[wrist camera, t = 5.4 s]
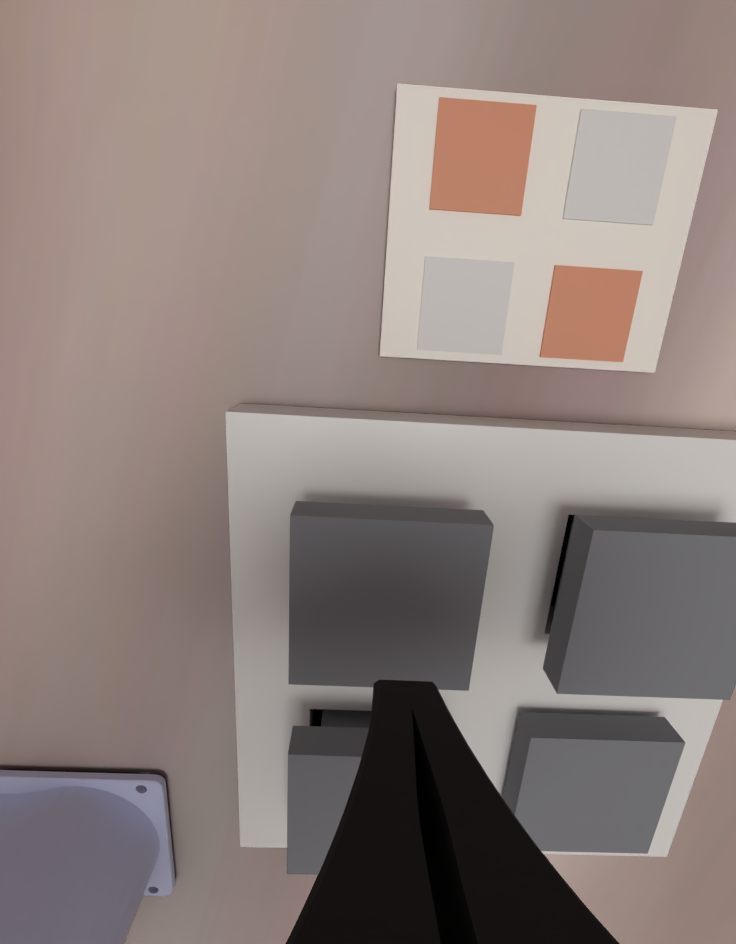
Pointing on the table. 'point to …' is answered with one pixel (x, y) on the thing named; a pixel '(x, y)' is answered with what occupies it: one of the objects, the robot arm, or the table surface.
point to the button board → (508, 574)
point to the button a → (321, 784)
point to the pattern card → (537, 226)
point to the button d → (645, 609)
